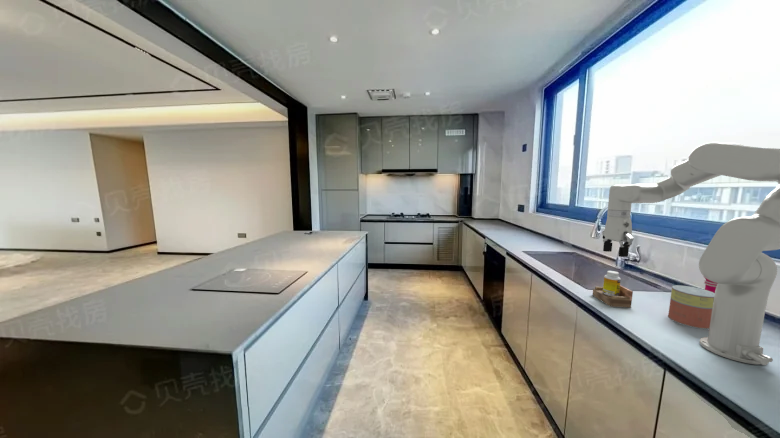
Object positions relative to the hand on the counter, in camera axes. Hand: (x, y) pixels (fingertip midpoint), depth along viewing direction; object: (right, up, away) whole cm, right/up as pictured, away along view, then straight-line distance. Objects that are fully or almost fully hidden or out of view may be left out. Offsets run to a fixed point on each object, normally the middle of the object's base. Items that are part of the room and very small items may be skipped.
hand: (614, 253), depth 117 cm
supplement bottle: (0, -18, +2) cm, 18 cm away
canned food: (+15, -24, -15) cm, 32 cm away
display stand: (0, -21, +3) cm, 21 cm away
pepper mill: (+29, -23, -10) cm, 38 cm away
